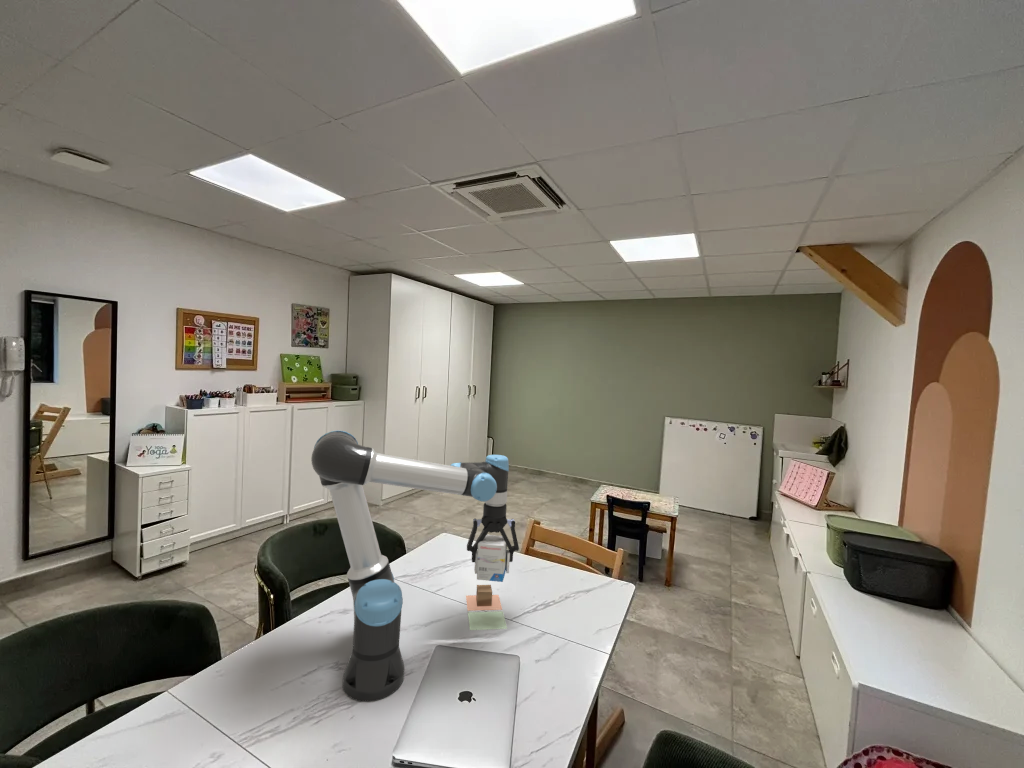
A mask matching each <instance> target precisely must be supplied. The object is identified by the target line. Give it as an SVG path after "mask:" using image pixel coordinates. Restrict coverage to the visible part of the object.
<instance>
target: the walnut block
mask: <svg viewBox="0 0 1024 768" xmlns="http://www.w3.org/2000/svg"><path fill="white" fill-rule="evenodd" d="M492 589H493V588H492V585H491V584H476V594H475V595H476V602H477V606H491V605H492V595H493V590H492Z"/></svg>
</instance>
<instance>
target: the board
mask: <svg viewBox="0 0 1024 768" xmlns="http://www.w3.org/2000/svg"><path fill="white" fill-rule="evenodd" d="M465 599H466V607H467V609H466V610H467V617H468V619H467V620H468V626H469V631H484V630H487V631H488V630H507V629H508V627H507V622H506V619H505V615H504V611H503V607H502V604H501V599H500V596H499V594H492V605H491V606H477V602H476V594H475V595H474V594H473V595H471V594H470V595H465Z"/></svg>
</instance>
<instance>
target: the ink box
mask: <svg viewBox="0 0 1024 768" xmlns="http://www.w3.org/2000/svg"><path fill="white" fill-rule="evenodd" d="M477 550H478V558H477V574H476V581H477V580H478V581H489V582H490V581H491V582H499V583H500V582H501V583H503V582H504V579H505V575H506V552H507V550H508V547H507V545H506V542H505V541H504V539H503V537H502V535H494V534H493V535H492V534H487V535H486V536H485V538H484V539H483V541H481V542H479V543H478V549H477Z"/></svg>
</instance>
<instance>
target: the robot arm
mask: <svg viewBox="0 0 1024 768" xmlns="http://www.w3.org/2000/svg"><path fill="white" fill-rule="evenodd" d="M311 466H312V468H313V471H314V472H315V473H316V474H317V475H318V476H319V480H320V483H321V487H324V488H326V489H328V490H329V493H330V496H331V501H332V504H333V507H334V511H335V514H336V519H337V522H338V525H339V529H340V534H341V537H342V540H343V544H344V547H345V551H346V555H347V558H348V562H349V566H350V568H349V569H348V571H347V573H346V576H347V579H348V584H349V589H350V591H351V595H352V600H353V602H352V603H353V635H352V638H353V639H352V649H351V650H352V651H351V654H350V657H349V659H348V662H347V664H346V668H345V669H344V673H343V679H342V688H343V691H344V693H345V694H346V696H347V697H349V698H350V699H353V700H356V701H358V702H374V701H378V700H382V699H385V698H386V697H389V696H391V695H392V694H393V693H394V692H396V691H397V690H398V689H400V687H401V686H402V684H403V682H404V679H405V664H404V663H405V662H404V660H403V656H402V652H401V649H400V648H401V647H400V638H401V637H400V636H401V635H400V633H401V623H402V621H401V620H402V608H403V603H404V601H403V599H404V598H403V592H402V591H403V590H402V589H401V587H400V585H399V584H398V583H396V582H395V578H394V573H393V571H392V569H391V565H390V562H389V559H388V557H387V556H386V555H383V554H382V553H381V550H380V545H379V541H378V538H377V533H376V531H375V527H374V523H373V520H372V516H371V512H370V509H369V504H368V501H367V497H366V493H365V490H364V486H366V485H367V484H369V483H374V484H381V485H389V486H395V487H396V486H397V487H400V488H401V487H403V488H410V489H416V490H424V491H430V492H436V493H437V492H439V493H443V494H452V495H458V496H464V497H471V498H473V499H474V500H476V501H478V502H483V506H482V507H483V510H482V517H481V518H479V519H477V518H473V520H472V523H473V524H472V528H471V533H469V534H470V535H469V537H468V542H467V543H466V551H468V552H471V562H472V563H474V574H475V575H477V558H478V543H479V542H481V541H483V539H484V538H485V536H486V535H489V533H490V534H491V533H496V534H498V533H500V536H502V537H503V539H504V541H505V542H506V545H507V552H506V572H505V574H509V573H510V563H513V560H514V552H516V551H517V552H518V551H519V550H520V547H519V542H518V541H519V540H518V537H517V533H516V521H515V519H514V518H511V519H507V507H508V506H507V505H508V504H507V503H508V482H509V472H510V470H509V469H510V467H509V466H510V465H509V458H508V457H507V456H506V455H503V454H502V455H501V454H489V455H487V456H486V457H485V461H480V462H479V461H477V462H475V461H474V462H473V461H471V462H462V461H461V462H454V463H451V464H450V465H449V464H442V463H438V462H431V461H426V460H419V459H413V458H409V457H403V456H398V455H391V454H385V453H379V452H377V451H375V449H374V448H373V447H369V446H364V445H361V444H359V442H358V440H357V438H356V437H355V436H354V435H353V434H351V433H349V432H347V431H344V430H332V431H329V432H327V433H325V434H323V435H322V436H320V438H318V439H317V441H316V443H315V444H314V448H313V451H312V453H311ZM507 524H508V527H509V529H510V532H511V537H512V542H513V545H512V544H511V542H510V540H509V538H508V536H507V533H506V531H505V529H504V528H505V527H506V525H507ZM480 525H483V528H482V530H481V532H480V534H479V535H478V537H477V539H476V541H475V540H474V539H475V538H476V534H477V531H478V527H480ZM474 541H475V542H474ZM473 543H474V544H473Z"/></svg>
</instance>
